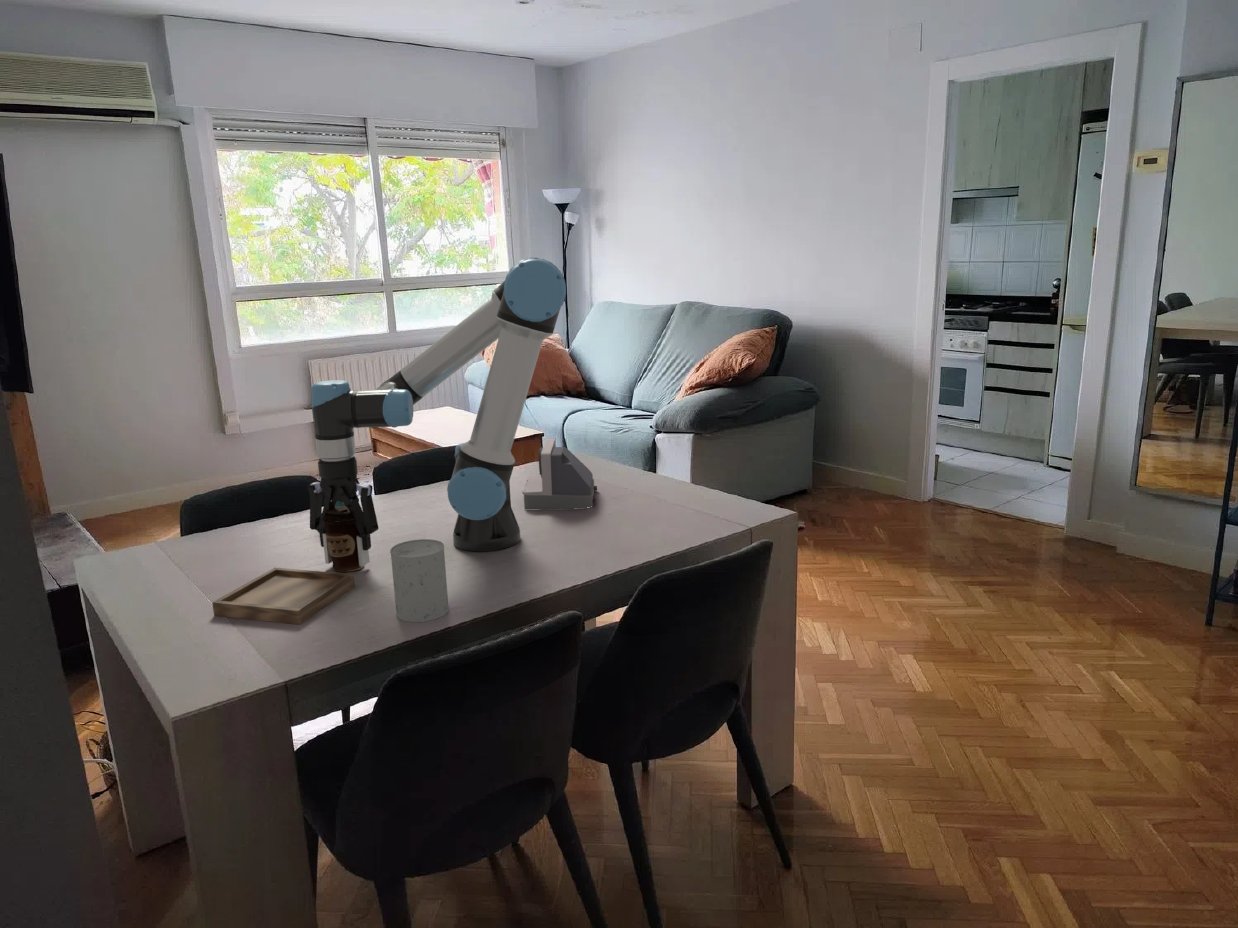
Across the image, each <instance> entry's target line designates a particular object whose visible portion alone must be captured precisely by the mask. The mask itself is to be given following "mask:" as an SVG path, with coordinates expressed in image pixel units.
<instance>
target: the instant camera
mask: <svg viewBox="0 0 1238 928" xmlns="http://www.w3.org/2000/svg"><path fill="white" fill-rule="evenodd" d="M538 471H539V472H537V473H532V474H529V475H528V477H527V479H526V483H525V485H524V487H523V489H522V494H523V503H524V504H523V506H524V510H525V509H566V510H575V509H574V508H587V507H591V506H594V505H595V504H597V498H596V497H595V498H593V495H595V492H597V491H598V486H597V485H595V479H594V476H593V473H592V471H591V470H590V469H589V468H588V466H586V465H585V464H584V463H583V462H582V461H581V460H579V458H578V457H577V456H575V454H574V453H573V452H572V451H571V450H569V449H568V448H567V447H566V446H557V443H556V437H555V438H546V439H545V442H544V444H543V447H539V449H538Z"/></svg>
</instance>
